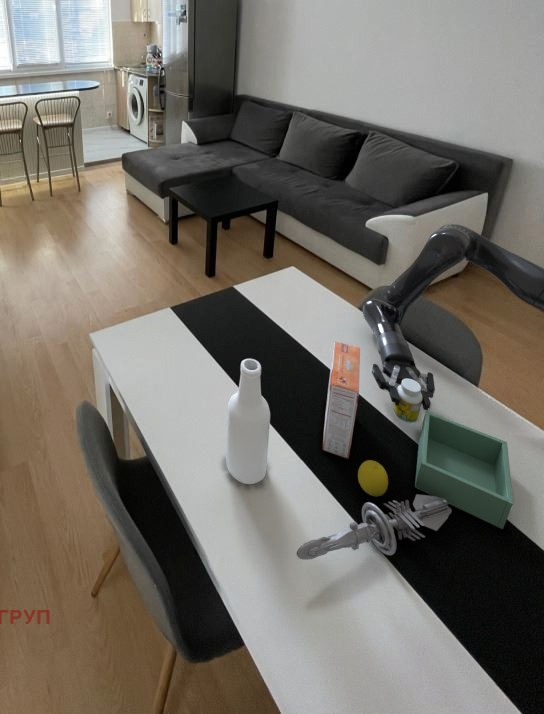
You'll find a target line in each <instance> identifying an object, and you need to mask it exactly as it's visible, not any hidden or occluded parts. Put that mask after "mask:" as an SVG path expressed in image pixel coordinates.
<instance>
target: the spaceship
mask: <svg viewBox="0 0 544 714" xmlns="http://www.w3.org/2000/svg"><path fill="white" fill-rule="evenodd" d="M387 503H388V504H387ZM449 505H451V504H450V503H447V500H446V499H445V498H438V497H437V496H432V495H429V494H427V495H426V494H415V498H414V500H413V502H412V506H413V508H414V509H415V510H414V511H412V510H411V508H410V502H409V500H408V499H406V500H405V501H403V500H402V501H400V502H398V501H397V500H392V502H391V501H388V502H386V503H383V506H385V507H387V508H388V509H390V510H391V511H392V512H393V513H394V514H393V513H392V512H388V514H387V513H384V512H383V511H382V510H381V509H380V508H379V507H378V506H377V505H376V504H375V503H372V502H369V501H368V502H365V503H363V505H362V508H361V517H362V522H361V523H359V524H358V523H357V522H356V521H352V522H350V523H349V527H348V528H345V529H343V530H342V531H340V532H338V533H335V534H332V535H328V536H321V537H318V538H315V539H312V540H309V541H307V542H305V543H303V544H301V546H299V548H297V550H296V554H295V555H296V557H297V558H298V559H300V560H304V561H305V560H306V561H307V560H309V561H310V560H314V559H316V558H318V557H321V556H325V555H326V554H328V553H329V552H332V551H333V552H334V551H337V550H341V549H349V548H351V549H352V551H357V550H359V548H360V545H361V544H364V543H367V544H369V543H370V542H371V541H372V543H373V544H374V546H375V547H376V548H377V549H378V550H379V551H380V552H381V553H382V554H384V555H386V556H393V555H394V554H395V553H396V551H397V539H396V535H395V529H396V531H397V537H398V540H399V541H402V539H407V538H408V539H410V540H411V541H413V542H415V541H416V540H421V537H422V538H426V536H425V535H424V534H423V533H421V532H420V531H419V530H417V529H416V528H420V525H421V526H422V527H426V528H428V529H431V530H433V531H435V532H437V531H438V530H439V529H440V528H441V527H442V525H443V524H444V523H445V522H446V521H447V520H448V518H449V516H450V515H451V514H452V512H453V510H452V508H451V507H449ZM417 522H418V523H417ZM413 525H414V526H415V527H416V528H415V527H414V526H413ZM394 528H395V529H394ZM412 536H413V537H412Z"/></svg>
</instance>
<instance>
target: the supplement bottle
mask: <svg viewBox="0 0 544 714" xmlns="http://www.w3.org/2000/svg"><path fill="white" fill-rule="evenodd" d="M396 388H397V391H398V395H399V398H400V402H399V405H395V403H394V402H393V406H392V412H393V413H394V415H395V416H396V418H397V419H398V420H400V421H402V422H404V423H407V424H414V423H417V422H418V420H419V418H420V413H421V409H422V399H423V397H422V394H421V386H420V384H419V383H418V382H416V381H415V380H412V379H408V378H406V379H403V380H402V382H401V385H399V384H398V386H397V387H396Z"/></svg>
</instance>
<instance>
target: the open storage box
mask: <svg viewBox="0 0 544 714" xmlns="http://www.w3.org/2000/svg"><path fill="white" fill-rule="evenodd" d="M418 439H419V441H418V448H417V449H418V450H417V459H416V460H417V462H416V472H415V480H414V488H415V489H417V490H419V491H421V492H423V493H426V494H427V495H429V496H437V497H438V498H445V499H446V500H447V503H450V504H449V505H451V506H453V507H455V508H457V509H459V510H461V511H463V512H465V513H468V514H469V515H472V516H474V517H476V518H478V519H480V520H482V521H485V522H487V523H488V524H491V525H493V526H495V527H497V528H498V529H501V530H503V529H504V527H505V525H506V523H507V520H508V518H509V515H510V513H511V511H512V509H513V505H514V499H513V490H512V479H511V470H510V460H509V448H508V442H507V441H505V440H502V439H500V438H497V437H495V436H492V435H489V434H487V433H484V432H482V431H479V430H476V429H474V428H471V427H469V426H467V425H464V424H461V423H458V422H456V421H454V420H451V419H449V418H446V417H443V416H441V415H438V414H436V413H433V412H430V411H427V410H425V413H424V417H423V421H422V425H421V428H420V432H419V438H418Z"/></svg>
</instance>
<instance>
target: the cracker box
mask: <svg viewBox="0 0 544 714" xmlns="http://www.w3.org/2000/svg"><path fill="white" fill-rule="evenodd" d="M331 357H332V358H331V363H330V364H331V365H330V372H329V379H328V386H327V387H328V388H327V397H326V406H325V414H324V415H325V416H324V424H323V425H324V426H323V438H322V439H323V440H322V451H324V452H327V453H329V454H332V455H335V456H338V457H341V458H344V459H347V460H349V458H350V452H351V446H352V439H353V432H354V426H355V421H356V415H357V408H358V402H359V397H360V371H361V370H360V369H361V366H360V365H361V364H360V363H361V347H359V346H354V345H350V344H346V343H342V342H338V341H334V343H333V351H332V356H331Z"/></svg>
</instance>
